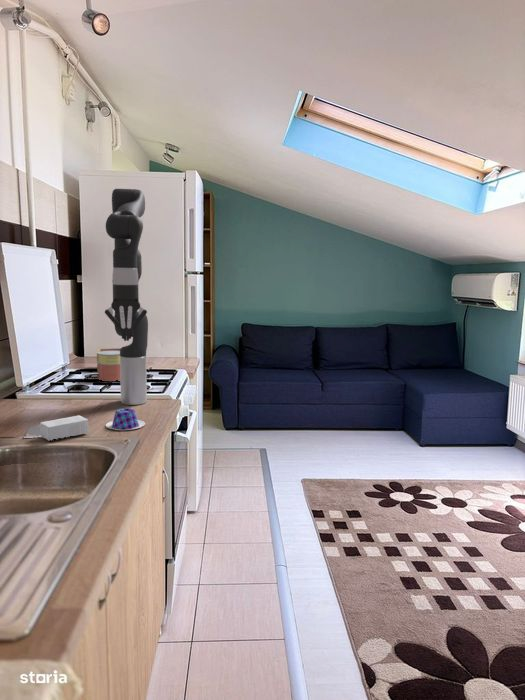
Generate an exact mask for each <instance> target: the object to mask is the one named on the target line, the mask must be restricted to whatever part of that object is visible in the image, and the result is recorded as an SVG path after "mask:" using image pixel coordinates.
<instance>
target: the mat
mask: <svg viewBox="0 0 525 700" xmlns="http://www.w3.org/2000/svg"><path fill="white" fill-rule="evenodd" d="M26 434H29V435H36V436H39V435H41V430H40V426H32V427H31V426H30V427H28V429H27V430H26V432H25V434H24V435H26Z"/></svg>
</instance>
